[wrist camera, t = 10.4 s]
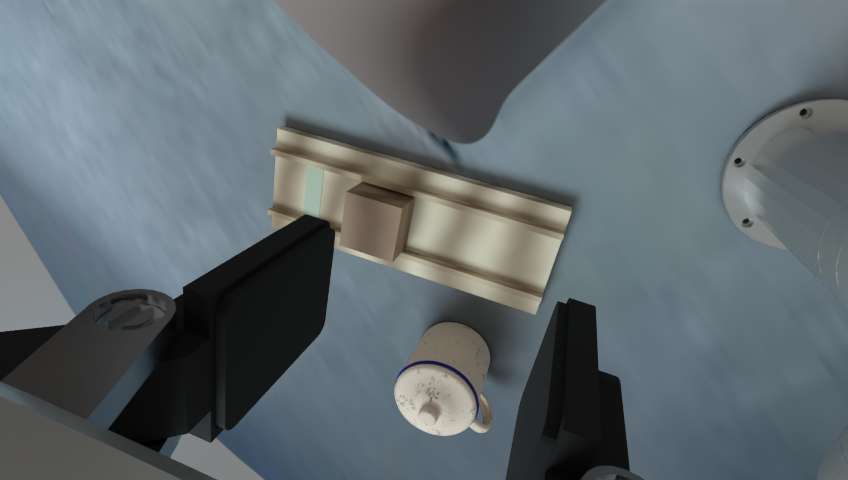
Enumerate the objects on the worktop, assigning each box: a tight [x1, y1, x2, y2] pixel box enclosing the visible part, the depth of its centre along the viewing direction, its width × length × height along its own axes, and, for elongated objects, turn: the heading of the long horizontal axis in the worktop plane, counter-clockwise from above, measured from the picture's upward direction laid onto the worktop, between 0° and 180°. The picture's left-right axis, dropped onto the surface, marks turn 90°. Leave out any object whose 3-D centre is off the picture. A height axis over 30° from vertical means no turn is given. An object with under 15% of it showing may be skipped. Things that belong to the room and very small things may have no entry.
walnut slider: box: [339, 182, 415, 262], centre depth 49 cm, size 6×6×4 cm
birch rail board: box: [268, 126, 572, 315], centre depth 51 cm, size 32×12×2 cm, turn 79°
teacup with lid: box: [395, 322, 493, 436], centre depth 52 cm, size 12×9×12 cm
